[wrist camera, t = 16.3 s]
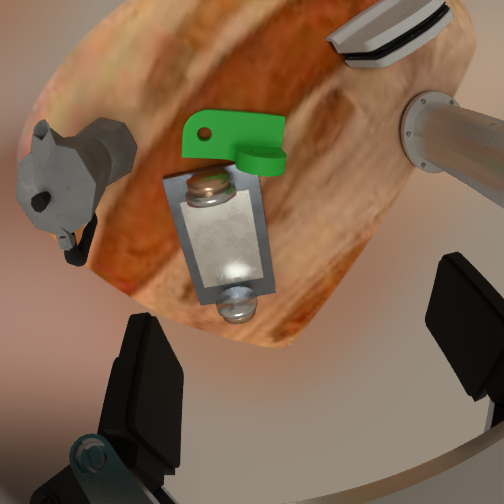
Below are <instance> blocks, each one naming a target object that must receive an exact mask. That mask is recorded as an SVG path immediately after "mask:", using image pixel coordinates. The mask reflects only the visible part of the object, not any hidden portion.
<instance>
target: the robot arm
mask: <svg viewBox="0 0 504 504" xmlns="http://www.w3.org/2000/svg"><path fill="white" fill-rule="evenodd" d="M406 132H407V133H406ZM401 139H402V144H403V148H404V151H405V153H406V155H407V157H408V158H409V159H410V161H411V162H412V163H413V164H414V165H415V166H416V167H418V168H420V169H421V170H423V171H426V172H429V173H439V172H442V171H445V172H447V173H449V174H450V175H452V176H454V177H455V178H457V179H459V180H460V181H462V182H464V183H465V184H467V185H469V186H470V187H472V188H473V189H475V190H476V191H478V192H479V193H481V194H482V195H484V196H486V197H487V198H489V199H490V200H492V201H493V202H495V203H496V204H498V205H499V206H501V207H503V208H504V121H502V120H499V119H497V118H493V117H491V116H487V115H484V114H481V113H478V112H475V111H471V110H468V109H464V108H461V107H460V106H459V104H458V103H457V102H456V101H455V100H454V99H453V98H452V97H451V96H449V95H447V94H445V93H443V92H438V91H427V92H424V93H421V94H419V95H418V96H417V97H415V98H414V99H413V100H412V101H411V102H410V104H409V105H408V107H407V109H406V110H405V113H404V116H403V119H402V124H401ZM425 323H426V326H427V328H428V329H429V331H430V332H431V334H432V336H433V337H434V338H435V340H436V342H437V343H438V345H439V347H440V348H441V350H442V352H443V353H444V355H445V356H446V358H447V360H448V361H449V363H450V365H451V366H452V368H453V370H454V372H455V373H456V375H457V377H458V378H459V380H460V382H461V384H462V386H463V387H464V389H465V391H466V393H467V394H468V395H469V396H472V398H473V400H474V401H475V402H476V401H478V400H480V399H482V398H483V397H485V396H486V395H487V394H488V396H489V397H490V402H489V409H488V414H487V420H486V425H485V429H484V433H483V434H481V435H479V436H478V437H476V438H474V439H472V440H470V441H469V442H467V443H465V444H463V445H461V446H459V447H457V448H455V449H453V450H452V451H449V452H447V453H445V454H443V455H441V456H439V457H437V458H435V459H432V460H430V461H428V462H426V463H423V464H421V465H419V466H416V467H414V468H412V469H409V470H406V471H404V472H401V473H398V474H396V475H393V476H390V477H388V478H385V479H382V480H379V481H376V482H373V483H369V484H367V485H363V486H360V487H357V488H353V489H349V490H345V491H342V492H338V493H334V494H330V495H325V496H321V497H317V498H312V499H307V500H302V501H296V502H291V503H285V504H504V299H503V297H502V296H501V295H500V294H499V293H498V292H497V291H496V290H495V289H494V287H493V286H492V285H491V284H490V283H489V282H488V281H487V280H486V279H485V278H484V277H483V276H482V275H481V273H480V272H478V270H477V269H476V268H475V267H474V266H473V265H472V264H471V263H470V262H469V261H468V260H467V259H466V258H465V257H464V256H463V255H462V254H461V253H459V252H454V253H450V254H446V255H444V256H443V257H442V259H441V260H440V261H439V264H438V268H437V273H436V277H435V281H434V286H433V290H432V294H431V297H430V301H429V305H428V309H427V312H426V316H425ZM183 381H184V374H183V370H182V367H181V365H180V363H179V361H178V360H177V357H176V356H175V354H174V352H173V350H172V348H171V346H170V344H169V342H168V340H167V338H166V336H165V334H164V332H163V330H162V327H161V325H160V323H159V321H158V319H157V318H156V317H155V316H151V315H150V313H148V312H146V313H139V314H132V315H131V316H130V318H129V321H128V324H127V328H126V331H125V335H124V339H123V342H122V346H121V350H120V354H119V357H117V358H116V359H115V360H114V363H113V366H112V370H111V374H110V378H109V382H108V386H107V390H106V394H105V399H104V403H103V408H102V412H101V417H100V422H99V427H98V432H97V434H93V433H91V434H85V435H83V436H81V437H79V438H78V439H77V440H76V441H75V442H74V443H73V445H72V446H71V448H70V453H69V463H70V464H69V465H68V466H67V467H66V468H64V469H63V470H62V471H60V472H59V473H58V474H57V475H55V476H54V477H53V478H51V479H50V480H48V481H47V482H46V483H44V484H43V485H42V486H41V487H39V488H38V489H37V490H36V491H35V492H34V493H33V494H32V496H31V499H30V504H179V503H178V502H177V501H176V500H175V499H174V497H173V496H172V495H171V494H170V493H169V492H168V491H167V490H166V489H165V487H164V486H163V485H164V475H175V468H178V467H179V466H180V450H181V421H182V420H181V419H182V399H183V383H184V382H183Z"/></svg>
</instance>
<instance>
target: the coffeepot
mask: <svg viewBox="0 0 504 504" xmlns="http://www.w3.org/2000/svg"><path fill="white" fill-rule="evenodd" d="M136 149H137V145H136V143H135V141H134V139H133V137H132V135H131V133H130V132H129V131H128V129H127V127H126V126H125V124H124V123H120V122H117V121H114V120H108V119H103V118H99V119H97V120H96V121H94V122H93V123H92V124H90V125H89V126H87V127H86V128H85V129H83V130H82V131H80V132H79V133H78V134H77V135H76V136H75V137H74V136H72V137H66V138H63V137H62V136H60V135H59V134H58V133H56V132H55V131H54V130H53V129H51V128H50V126H49V124H48V123H47V122H46V120H45V119H44V120H41V121H39V122H38V123H37V124H36V126H35V127H34V131H33V134H32V143H31V152H30V153H29V154H28V155H27V156H26V157H25V158H24V159H23V160H22V161H21V162H19V163H18V173H17V194H16V195H17V196H16V197H17V198H16V199H17V201H18V202H19V204H20V205H21V207H22V209H23V210H24V212H25V213H26V215H27V216H28V218H29V219H30V221H31V222H32V224H33V225H34V227H35V228H37V229H41V230H43V231H47V232H50V233H53V234H56V237H57V240H58V243H59V246H60V249H64V255H65V259H66V261H67V263H69V264H72V265H75V266H83V265H84V264H85V263H86V261H87V257H88V253H89V249H90V246H91V243H92V239H93V236H94V233H95V229H96V226H97V222H98V220H97V216H96V213H95V210H96V208H97V206H98V203H99V201H100V199H101V197H102V195H103V193H104V191H105V188H106V186H108V185H110V184H112V183H113V182H115V181H116V180H118V179H120V178H121V177H123V176H125V175H126V174H128V173H130V172H131V169H132V165H133V162H134V159H135V153H136ZM87 223H88V224H87ZM85 224H87V226H86V227H85V228H84V230H83V234H82V238H81V240H80V242H79V244H78V246H77V242H76V237H75V233H74V231H76V230H77V229H79V228H80V227H82V226H83V225H85Z"/></svg>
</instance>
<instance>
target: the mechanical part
mask: <svg viewBox="0 0 504 504" xmlns="http://www.w3.org/2000/svg"><path fill="white" fill-rule="evenodd" d="M284 125H285V116H283V115H275V114H266V113H257V112H246V111H234V110H220V109H204V110H200V111H198V112H196V113H195V114H193V115H192V116H191V117H190V118H189V119H188V121H187V122H186V124H185V126H184V129H183V139H182V157H188V158H211V159H227V160H232V161H234V162H235V164H236V168H237V169H238V170H240V171H242V172H245V173H248V174H252V175H258V176H279V175H282V174H284V171H285V164H286V157H287V155H286V153H285V152H284V151H283V150H282V149H281V146H282V139H283V132H284ZM202 127H207V128H209V129H210V130H211V132H212V135H211V137H209V138H207V139H203V138H201V137H200V136H199V135H198V130H199V129H200V128H202Z"/></svg>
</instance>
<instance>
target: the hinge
mask: <svg viewBox="0 0 504 504" xmlns="http://www.w3.org/2000/svg"><path fill="white" fill-rule="evenodd" d="M445 4H446V2H445V0H379V1H378V2H376V3H375V4H373V5H372V6H370V7H369V8H367V9H366V10H364V11H363V12H361V13H360V14H358V15H357V16H355V17H354V18H352V19H351V20H350V21H348V22H347V23H345V24H344V25H342V26H341V27H340V28H338V29H337V30H336V31H334V32H333V33H332V34H330V35H329V36H328V37H326V38H325V39H326V41H327V42H330V41H332V43H333V45H334V47H335V48H336V50H337V52H338V53H342V54H343V55H348V56H347V57H345V58H346V59H347V60H346V61H345V62H346V63H347V64H348V65H349V66H350V67H362V68H385V67H387V66H389V65H391V64H393V63H395V62H397V61H398V60H400V59H402V58H404V57H405V56H407V55H408V54H410V53H412V52H413V51H415V50H416V49H418V48H420V47H421V46H423V45H424V44H425V43H427V42H428V41H430V40H431V39H432V38H434V37H435V36H436V35H437V34H439V33H440V32H441V31H442V30H443V29H444V28H445V27H446V26H447V25H448V24H449V23H450V21H451V20H452V18H453V17H454V16H453V13H452V10H451V8H450V7H448V6H447V5H445Z"/></svg>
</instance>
